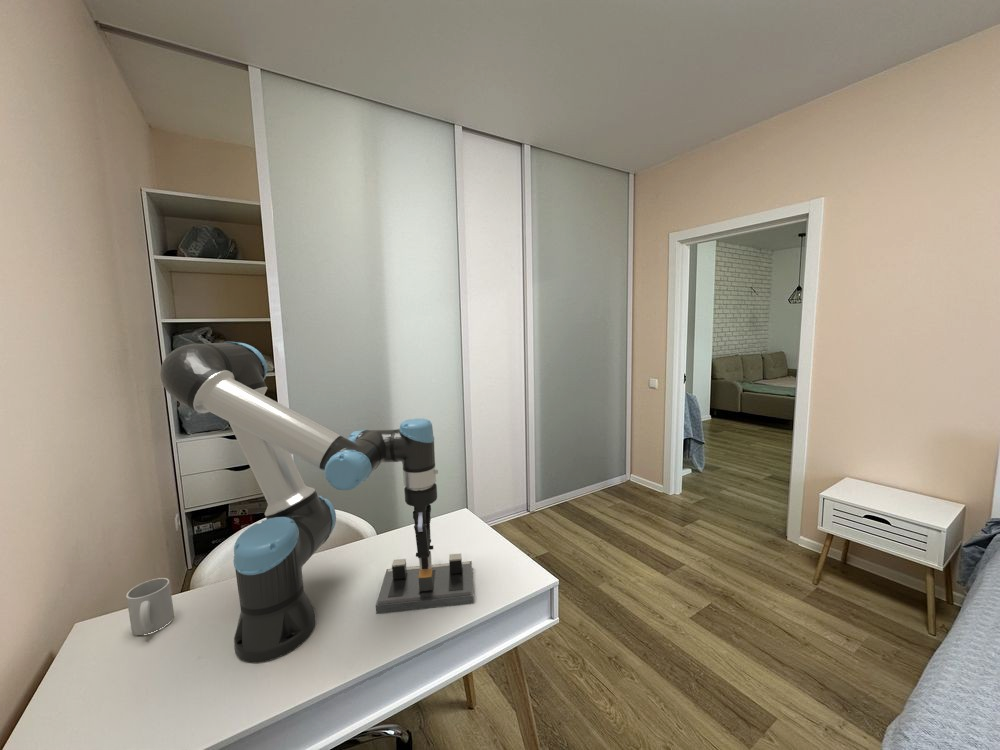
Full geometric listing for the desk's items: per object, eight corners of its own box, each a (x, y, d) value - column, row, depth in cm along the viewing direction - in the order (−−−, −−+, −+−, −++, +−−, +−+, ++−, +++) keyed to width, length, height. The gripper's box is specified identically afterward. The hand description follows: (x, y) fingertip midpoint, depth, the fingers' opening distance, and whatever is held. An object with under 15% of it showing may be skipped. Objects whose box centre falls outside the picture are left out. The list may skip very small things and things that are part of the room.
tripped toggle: (419, 591, 94) (418, 576, 93) (420, 584, 96) (419, 570, 96) (432, 590, 94) (431, 575, 94) (433, 583, 97) (432, 569, 96)
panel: (376, 614, 90) (374, 589, 89) (387, 576, 104) (385, 554, 103) (473, 603, 92) (472, 579, 92) (471, 568, 106) (470, 546, 105)
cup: (177, 609, 95) (171, 574, 94) (169, 636, 86) (163, 597, 85) (136, 622, 91) (131, 585, 90) (124, 651, 82) (118, 611, 81)
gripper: (434, 494, 88) (440, 594, 91) (437, 473, 101) (443, 561, 104) (400, 497, 88) (407, 597, 90) (407, 476, 100) (413, 564, 103)
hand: (426, 578), depth 97 cm, fingers closed
